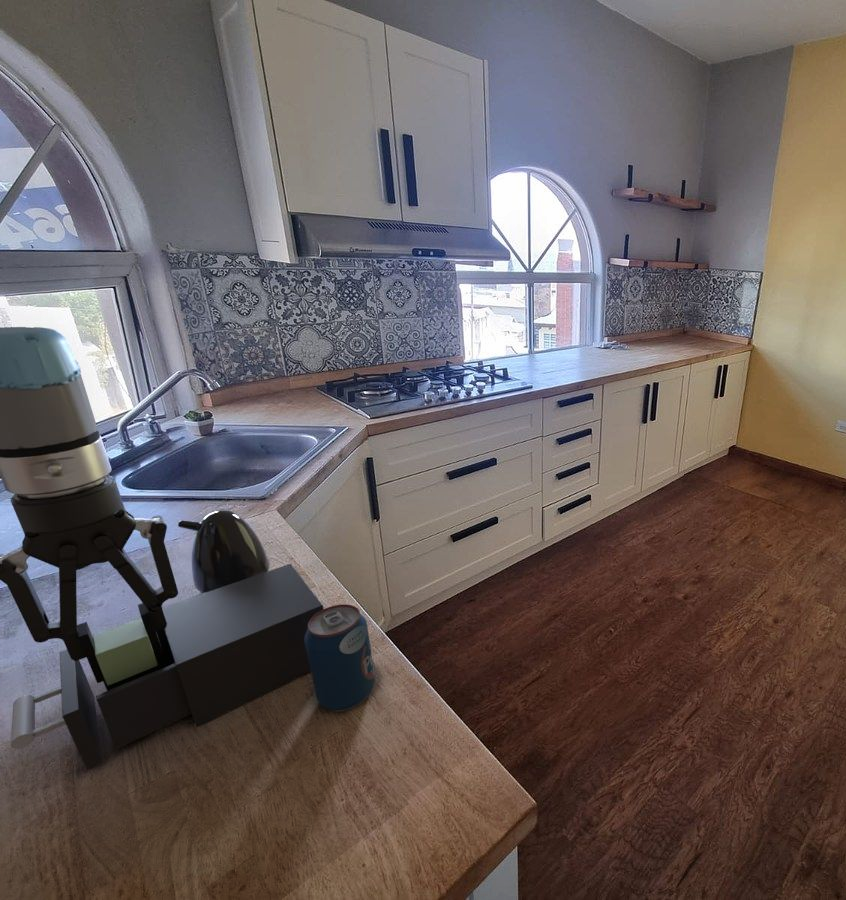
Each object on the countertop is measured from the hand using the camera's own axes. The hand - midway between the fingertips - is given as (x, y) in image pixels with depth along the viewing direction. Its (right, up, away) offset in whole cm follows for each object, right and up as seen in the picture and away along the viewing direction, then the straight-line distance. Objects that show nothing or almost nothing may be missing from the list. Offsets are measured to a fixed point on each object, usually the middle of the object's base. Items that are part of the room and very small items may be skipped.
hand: (130, 663), depth 59 cm
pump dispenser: (-5, +1, +25) cm, 25 cm away
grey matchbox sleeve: (+8, -5, +11) cm, 14 cm away
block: (0, 0, 0) cm, 0 cm away
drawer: (-1, -6, +2) cm, 7 cm away
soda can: (+23, -7, +6) cm, 24 cm away
